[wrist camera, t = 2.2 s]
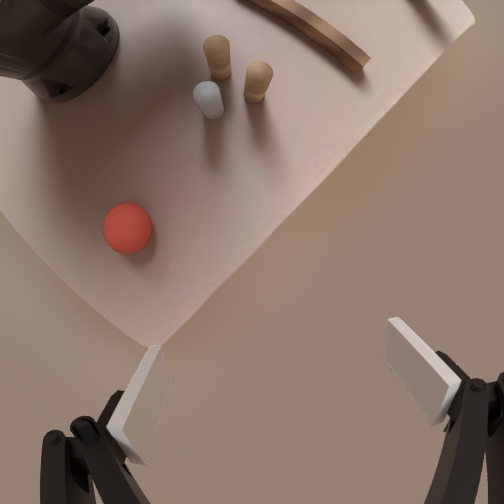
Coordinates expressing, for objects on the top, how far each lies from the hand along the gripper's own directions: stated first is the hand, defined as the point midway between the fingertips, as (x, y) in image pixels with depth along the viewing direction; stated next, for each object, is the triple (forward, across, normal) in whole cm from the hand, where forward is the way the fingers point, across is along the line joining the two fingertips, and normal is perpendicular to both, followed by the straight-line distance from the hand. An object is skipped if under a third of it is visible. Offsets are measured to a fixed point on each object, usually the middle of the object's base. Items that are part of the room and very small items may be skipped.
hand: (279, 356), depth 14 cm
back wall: (+19, +8, +31) cm, 37 cm away
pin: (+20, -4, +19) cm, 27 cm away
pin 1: (+19, -2, +24) cm, 31 cm away
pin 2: (+20, +1, +20) cm, 28 cm away
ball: (+17, -15, +6) cm, 24 cm away
